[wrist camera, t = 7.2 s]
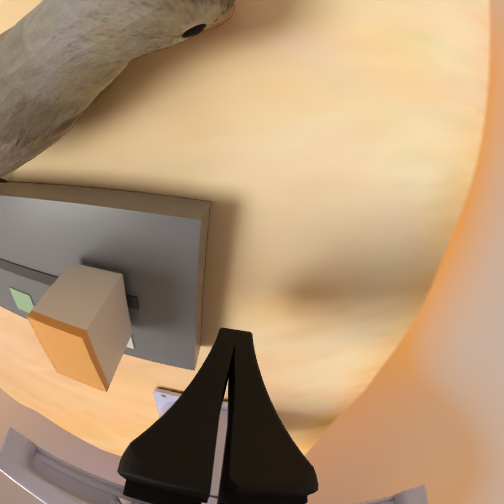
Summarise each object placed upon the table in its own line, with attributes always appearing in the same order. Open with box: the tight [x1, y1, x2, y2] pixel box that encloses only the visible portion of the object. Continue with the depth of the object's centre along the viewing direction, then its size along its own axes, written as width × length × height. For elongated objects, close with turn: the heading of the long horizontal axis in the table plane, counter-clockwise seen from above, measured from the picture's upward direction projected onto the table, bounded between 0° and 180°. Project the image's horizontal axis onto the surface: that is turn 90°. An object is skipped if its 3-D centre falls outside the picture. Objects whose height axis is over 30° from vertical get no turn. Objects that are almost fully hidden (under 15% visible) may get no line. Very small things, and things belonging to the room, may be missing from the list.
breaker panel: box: [0, 182, 211, 370], centre depth 13 cm, size 18×10×2 cm, turn 81°
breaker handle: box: [27, 263, 133, 392], centre depth 11 cm, size 3×4×4 cm
